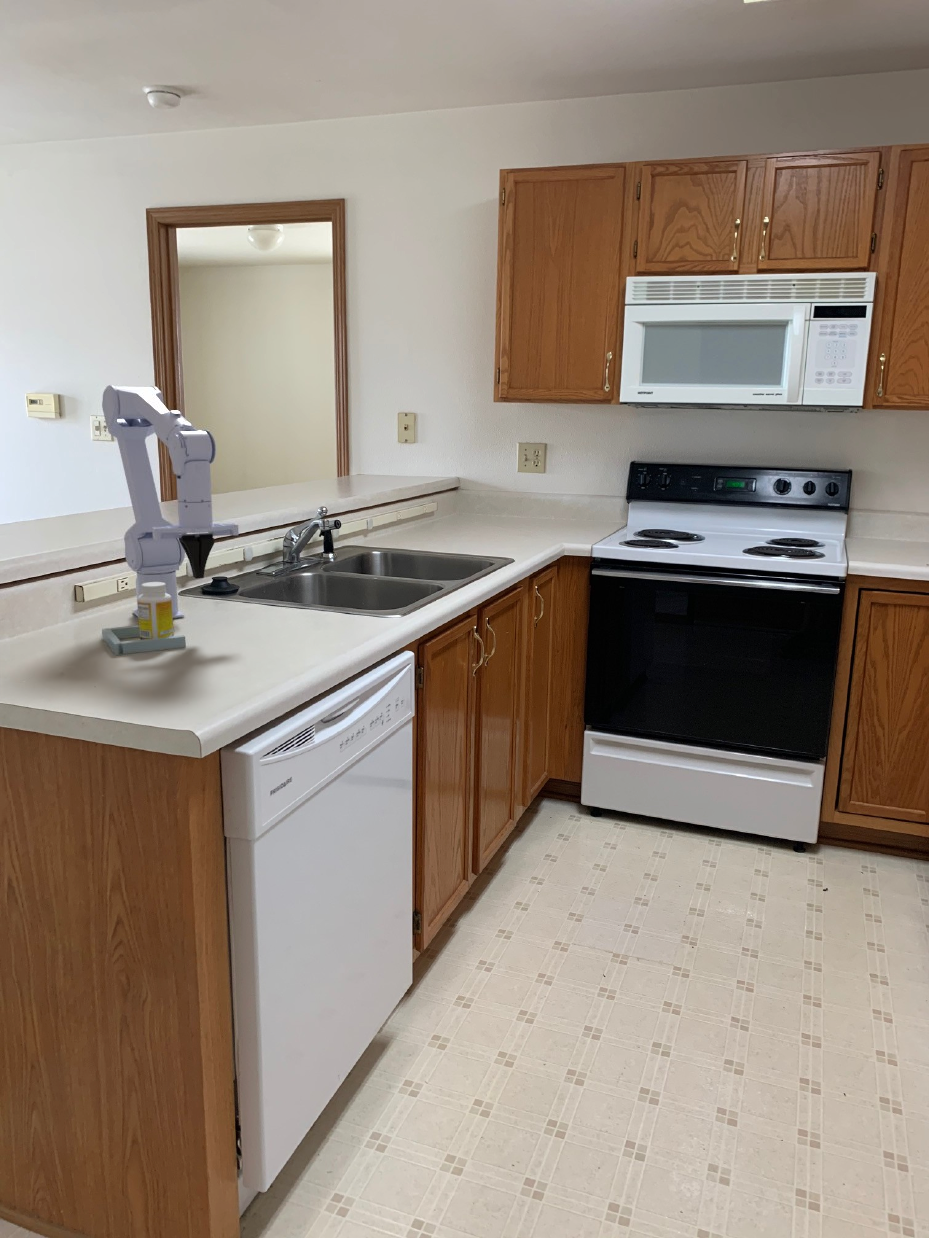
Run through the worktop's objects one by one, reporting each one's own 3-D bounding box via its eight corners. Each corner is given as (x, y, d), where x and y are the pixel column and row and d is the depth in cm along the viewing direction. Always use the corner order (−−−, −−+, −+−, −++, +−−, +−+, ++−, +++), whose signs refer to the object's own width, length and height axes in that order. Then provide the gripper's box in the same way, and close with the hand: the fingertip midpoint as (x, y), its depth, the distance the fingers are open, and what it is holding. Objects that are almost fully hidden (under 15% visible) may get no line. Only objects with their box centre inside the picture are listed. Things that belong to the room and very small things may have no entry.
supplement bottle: (176, 637, 162) (173, 580, 160) (170, 645, 157) (167, 586, 154) (143, 638, 161) (140, 581, 159) (137, 646, 156) (133, 587, 154)
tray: (102, 638, 160) (101, 628, 160) (169, 631, 166) (168, 622, 166) (115, 655, 150) (114, 644, 150) (185, 646, 156) (185, 636, 155)
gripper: (156, 504, 153) (161, 584, 156) (242, 501, 160) (245, 578, 163) (148, 500, 159) (152, 577, 162) (230, 497, 166) (233, 571, 169)
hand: (198, 577), depth 163 cm, fingers closed
